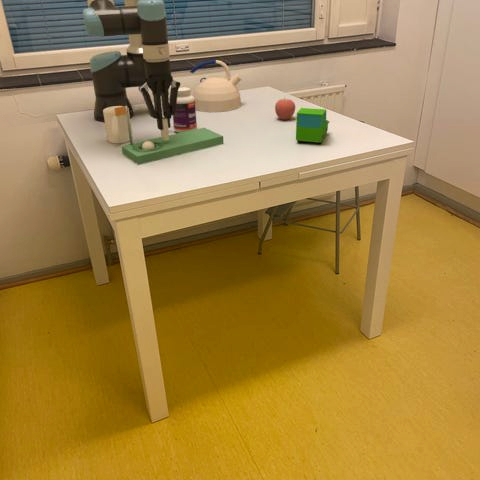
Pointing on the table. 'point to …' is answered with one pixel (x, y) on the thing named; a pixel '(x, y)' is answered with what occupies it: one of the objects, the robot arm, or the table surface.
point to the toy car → (311, 125)
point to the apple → (285, 108)
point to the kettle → (217, 91)
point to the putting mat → (172, 145)
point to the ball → (148, 145)
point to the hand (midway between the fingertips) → (165, 138)
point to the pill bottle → (185, 111)
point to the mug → (116, 126)
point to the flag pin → (124, 111)
